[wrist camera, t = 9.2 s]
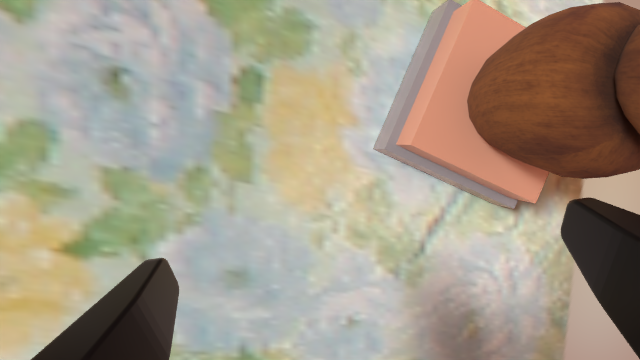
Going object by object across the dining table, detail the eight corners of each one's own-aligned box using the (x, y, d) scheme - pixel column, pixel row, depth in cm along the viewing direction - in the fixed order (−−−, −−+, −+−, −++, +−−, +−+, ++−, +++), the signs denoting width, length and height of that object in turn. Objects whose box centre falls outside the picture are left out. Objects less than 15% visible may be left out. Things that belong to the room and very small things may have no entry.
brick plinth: (493, 203, 24) (538, 215, 20) (373, 148, 23) (398, 149, 19) (548, 77, 24) (606, 63, 20) (432, 11, 22) (470, -17, 19)
